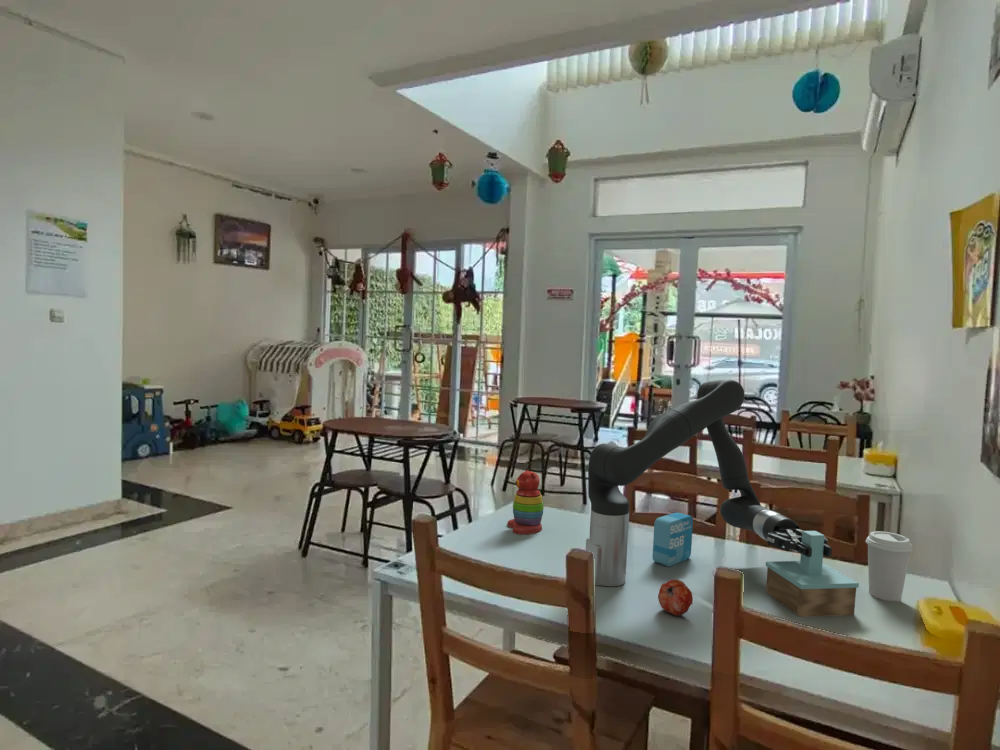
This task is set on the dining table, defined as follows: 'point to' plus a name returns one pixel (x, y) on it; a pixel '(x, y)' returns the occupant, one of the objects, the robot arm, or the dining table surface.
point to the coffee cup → (887, 564)
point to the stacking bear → (527, 505)
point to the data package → (672, 538)
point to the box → (810, 598)
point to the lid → (812, 568)
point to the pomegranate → (675, 597)
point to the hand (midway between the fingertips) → (820, 552)
